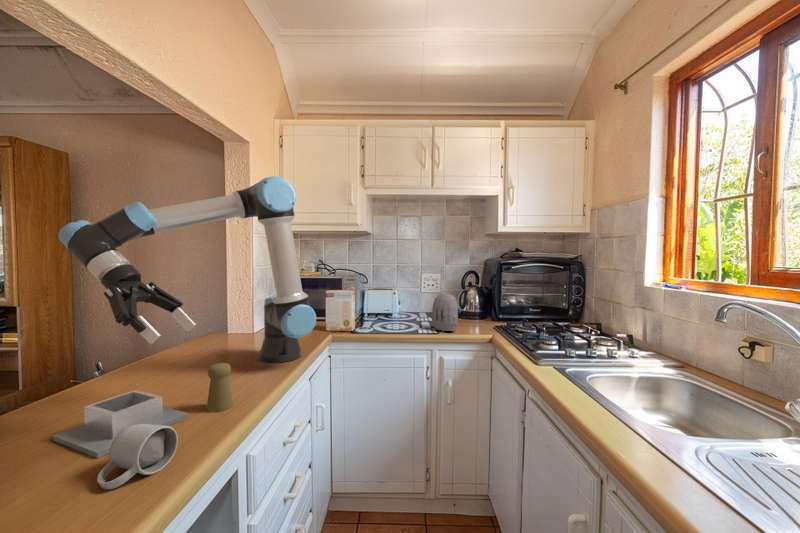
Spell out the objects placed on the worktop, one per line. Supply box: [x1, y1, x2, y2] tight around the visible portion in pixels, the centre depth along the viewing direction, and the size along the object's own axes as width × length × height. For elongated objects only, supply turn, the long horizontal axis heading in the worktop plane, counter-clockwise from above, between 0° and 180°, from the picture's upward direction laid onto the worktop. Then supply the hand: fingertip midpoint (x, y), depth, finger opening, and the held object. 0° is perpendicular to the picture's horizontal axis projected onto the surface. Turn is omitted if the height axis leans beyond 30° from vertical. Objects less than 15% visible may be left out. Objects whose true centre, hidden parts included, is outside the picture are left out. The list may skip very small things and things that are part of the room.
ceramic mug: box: [96, 424, 179, 491], centre depth 61 cm, size 11×8×8 cm
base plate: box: [52, 405, 189, 459], centre depth 76 cm, size 18×16×1 cm
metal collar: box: [83, 389, 164, 439], centre depth 76 cm, size 10×10×5 cm
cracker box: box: [325, 289, 356, 332], centre depth 176 cm, size 14×6×21 cm, turn 82°
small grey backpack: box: [431, 292, 459, 332], centre depth 176 cm, size 15×8×20 cm, turn 44°
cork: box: [206, 362, 234, 413], centre depth 87 cm, size 6×6×11 cm
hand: (175, 333), depth 86 cm, fingers open, 13 cm apart
